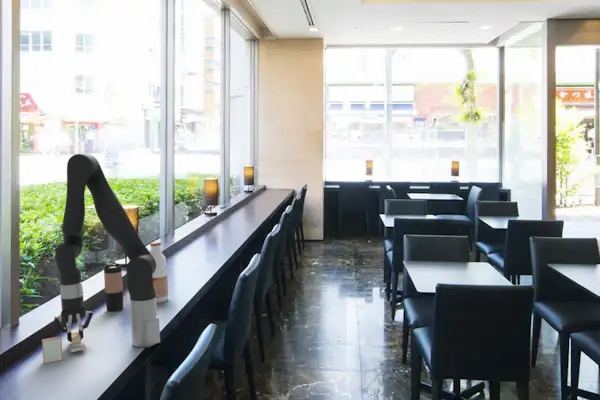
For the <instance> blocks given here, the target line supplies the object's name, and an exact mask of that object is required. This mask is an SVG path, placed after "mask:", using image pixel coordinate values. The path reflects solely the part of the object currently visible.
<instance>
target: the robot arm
mask: <svg viewBox="0 0 600 400" xmlns="http://www.w3.org/2000/svg"><path fill="white" fill-rule="evenodd" d="M66 163H67V164H66V198H65V207H64V213H63V220H62V225H61V232H62V234H63V235H64V236H63V242H62V243H60V244H59V245H58V246H57V247H56V249H55V251H54V257H55V262H56V266H57V269H58V272H59V280H60V281H59V282H60V300H61V301H60V302H61V312H60V314H59V315H58V316H55V317H54V318H53V320H54V322H55V324H56V325H57V326H58V328H59V330H60V331H61V332H62V333H66V337H67V338H66V339H67V341H68V342H69V343H72V337H71V336H72V335H71V331H72V324H74V323H77V325H78V331H79V334H80V337H81V341H83V340H82V339H84V330H85V329H88V327H89V325H90V322H91V320H92V318H93V315H94V313H93V311H92V310H89V311H88V310H86V308H85V302H84V290H83V289H84V288H83V284H82V273H81V269H80V267H79V266H77V263H76V258H78V257H79V256H80V255H81V254H82V249H83V229H84V224H85V219H86V218H85V217H86V203H85V191H86V187H87V189H88V190H89V192H90V195H91V198H92V201H93V205H94V206H93V207H94V209H95V213H96V215H97V217H98V220H99V221H100V222H101V224H102V226H103V228H104V229H105V231H106V233H108V234H109V236H111V238H112V239H113V240H114V241H115V242H117V244H119V245H120V247H121V248H122V250H124V253H125V254H126V256H127V258H128V260H129V261H128V263H127V265H126V282H127V291H128V294H129V299H130V300H129V302H130V304H129V305H130V323H131V324H130V325H131V339H132V346H133V347H136V348H150V347H152V346H155V345H157V344H159V343H161V333H160V332H161V330H160V318H159V316H158V314H157V313H158V312H157V311H158V309H157V303H156V290H155V289H154V287H153V273H154V272H155V270H156V261H155V259H154V258H153V256H152V255H151V253H150V252H151V251H149V249H148V248H147V246H146V245H145V244H144V242H143V241H142V239H141V238H140V236H139V234H138V232H137V229H136V228H135V226H134V225H133V223H132V221H131V219H130V217H129V216H128V214H127V212H126V210H125V208H124V206H123V205H122V203H121V201H119V198H118V197H117V195H116V193H115V192H114V190H113V188H112V187H111V186H110V184H109V182H108V180H107V178H106V176H105V174H104V170H103V168H102V166H101V165H100V162H99V161H98V159H97V158H96V157H95V156H94V155H92V154H90V153H75V154H73V155H72V156H71V157H70V158H69V159H68V160H67V162H66ZM84 316H85V317H86V319H85V321H84V323H82V319H83V317H84ZM62 319H64V321H65V322H66V327H64V325H63V323H61V322H62Z"/></svg>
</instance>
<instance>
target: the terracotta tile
mask: <svg viewBox="0 0 600 400" xmlns="http://www.w3.org/2000/svg"><path fill="white" fill-rule="evenodd" d="M62 339H63V338H62V336H55V337H54V336H53V337H49V338H44V339H41V349H42V361H43V364H44V365H45V364H50V363H55V362H60V361H61V362H62V361H64V357H63V356H64V354H63V345H62V344H63V342H62V341H63V340H62Z"/></svg>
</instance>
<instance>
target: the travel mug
mask: <svg viewBox="0 0 600 400" xmlns="http://www.w3.org/2000/svg"><path fill="white" fill-rule="evenodd" d="M103 275H104V276H103V277H104V295H105V297H104V298H105V306H106V311H107V312H109V313H115V312H121V311H123V310H124V287H123V286H124V285H123V273H122V265H118V264H110V265H109V264H108V265H105V266H104V267H103Z"/></svg>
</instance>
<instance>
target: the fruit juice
mask: <svg viewBox="0 0 600 400" xmlns="http://www.w3.org/2000/svg"><path fill="white" fill-rule="evenodd" d="M149 244H150V245H149V246H150V251H149V252H150V253H151V255H152V256H153V258H154V259H155V261H156V270H155V272H154V273H153V287H154V289H155V290H156V304H157V303H164V302H166V301H168V300H169V286H168V281H169V280H168V270H167V267H166V265H167V257H166V256H165V255H164V254H163V251H162V249H161V246H162V243H161V242H160V241H153V242H150V243H149Z"/></svg>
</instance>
